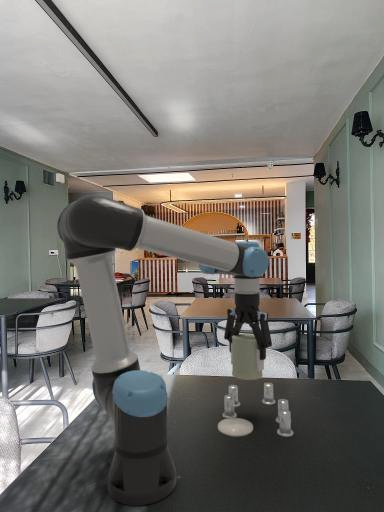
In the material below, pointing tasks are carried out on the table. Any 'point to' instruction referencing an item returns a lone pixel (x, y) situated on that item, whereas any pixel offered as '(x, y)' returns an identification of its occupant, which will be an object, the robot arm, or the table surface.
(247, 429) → the beige flat disc
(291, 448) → the table surface
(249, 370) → the can
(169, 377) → the table surface
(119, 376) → the robot arm
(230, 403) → the posts
